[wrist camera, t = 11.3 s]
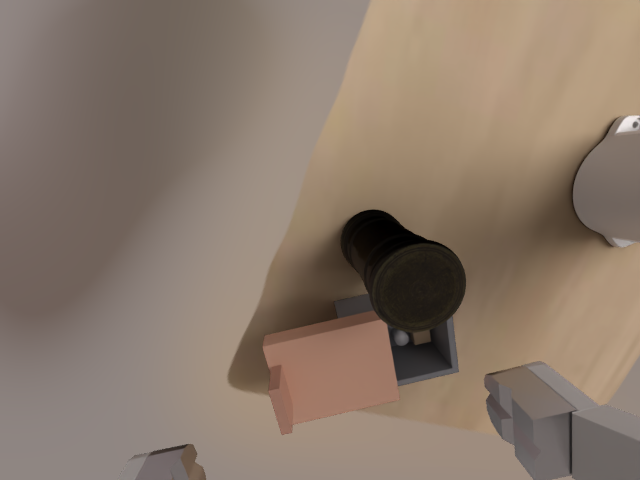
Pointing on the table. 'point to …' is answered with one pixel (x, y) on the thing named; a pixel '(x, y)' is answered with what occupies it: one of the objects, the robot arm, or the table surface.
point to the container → (403, 272)
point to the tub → (412, 345)
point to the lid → (330, 368)
